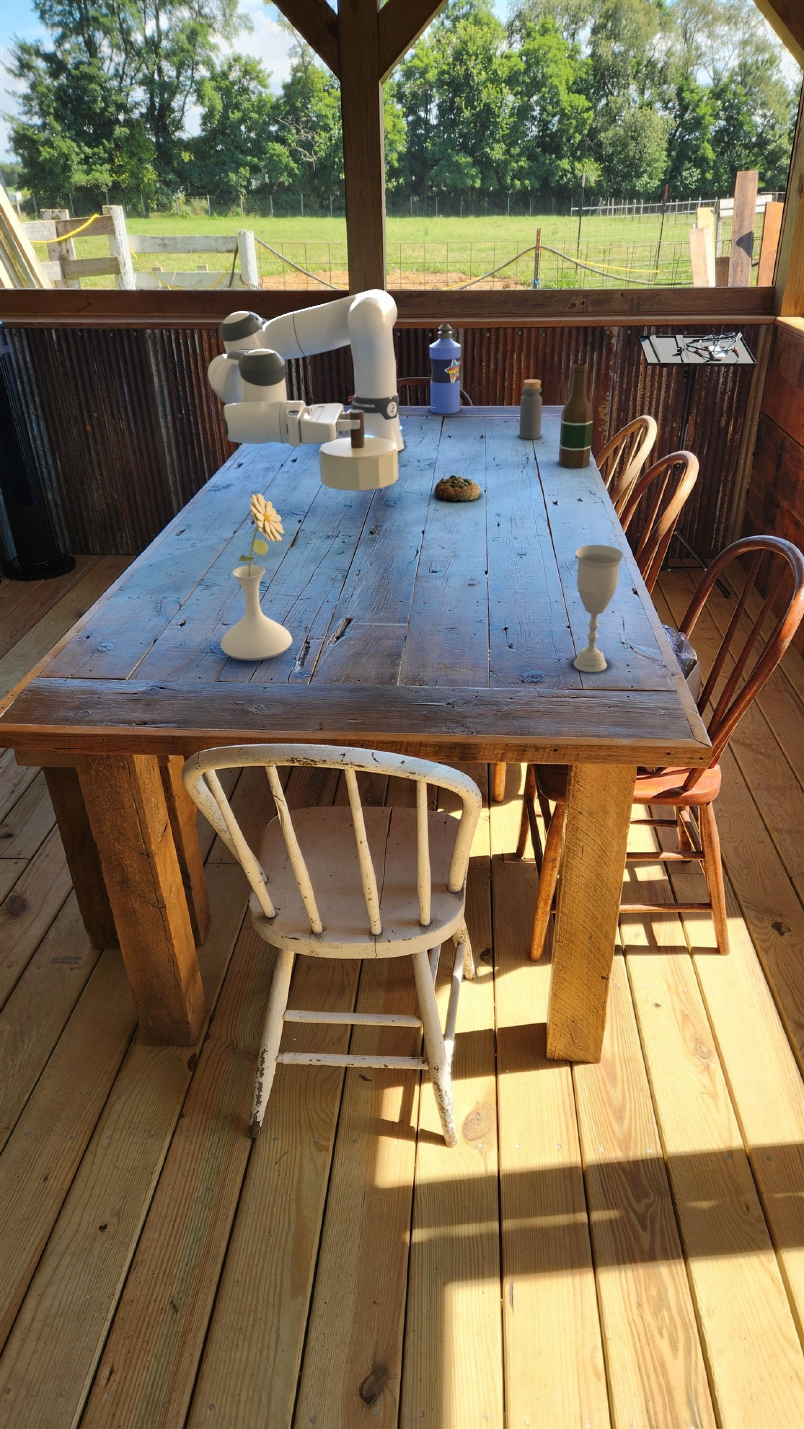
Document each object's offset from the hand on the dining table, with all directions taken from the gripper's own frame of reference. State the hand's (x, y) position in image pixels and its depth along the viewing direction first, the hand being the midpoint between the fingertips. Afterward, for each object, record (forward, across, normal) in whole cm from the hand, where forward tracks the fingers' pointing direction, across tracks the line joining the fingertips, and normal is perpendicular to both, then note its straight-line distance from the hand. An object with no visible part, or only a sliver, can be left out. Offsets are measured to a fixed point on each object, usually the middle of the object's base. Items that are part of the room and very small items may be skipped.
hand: (361, 421), depth 205 cm
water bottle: (+17, -96, -20) cm, 100 cm away
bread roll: (+21, -10, -20) cm, 30 cm away
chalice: (+41, +75, -20) cm, 88 cm away
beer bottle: (+50, -35, -20) cm, 64 cm away
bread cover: (-1, 0, -12) cm, 13 cm away
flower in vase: (-11, +70, -20) cm, 74 cm away
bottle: (+41, -63, -20) cm, 78 cm away
